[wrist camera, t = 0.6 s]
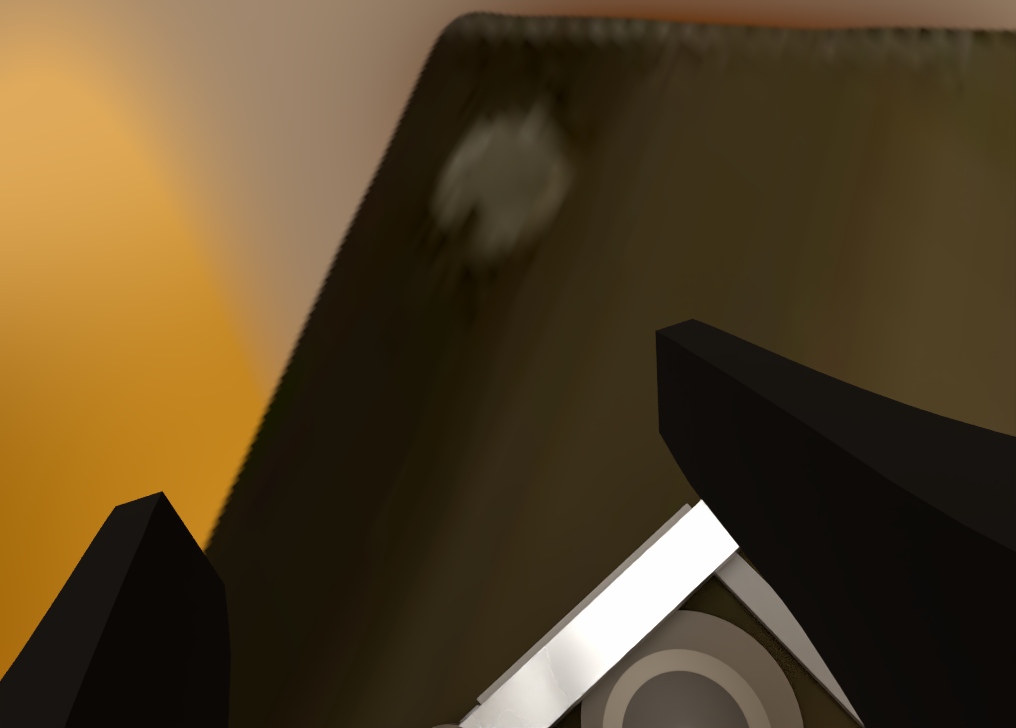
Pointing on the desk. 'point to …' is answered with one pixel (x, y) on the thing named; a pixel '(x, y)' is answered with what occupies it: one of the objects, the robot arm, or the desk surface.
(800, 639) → the socket
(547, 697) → the clip
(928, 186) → the desk surface
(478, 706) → the thin grey base plate
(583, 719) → the plug
